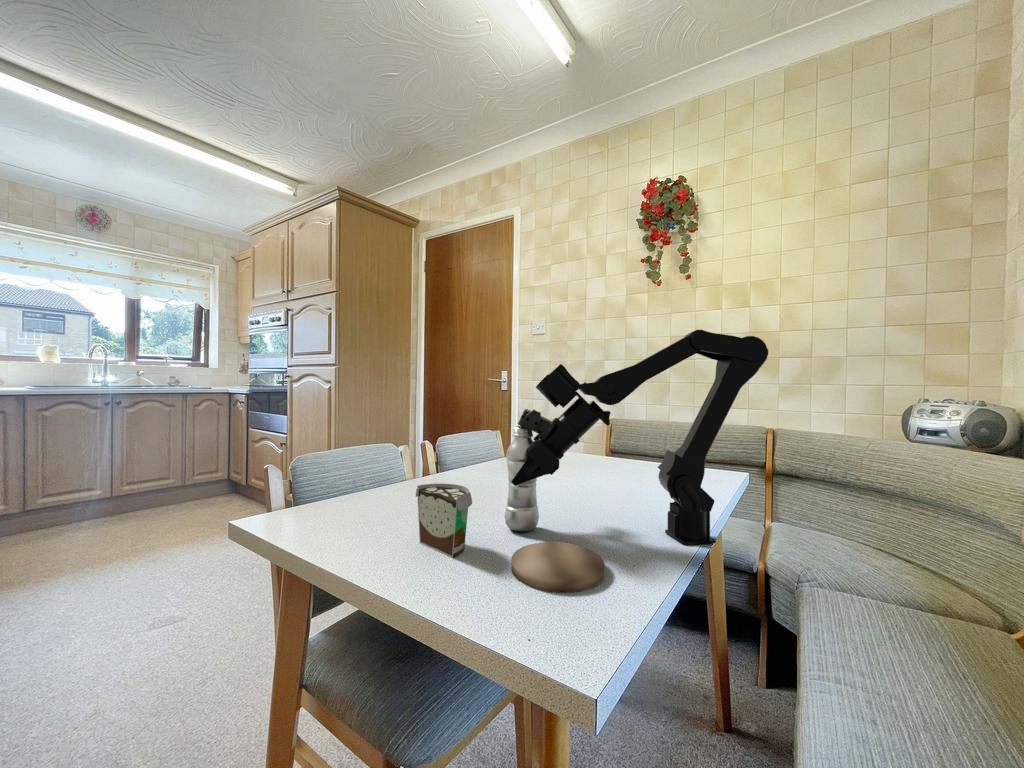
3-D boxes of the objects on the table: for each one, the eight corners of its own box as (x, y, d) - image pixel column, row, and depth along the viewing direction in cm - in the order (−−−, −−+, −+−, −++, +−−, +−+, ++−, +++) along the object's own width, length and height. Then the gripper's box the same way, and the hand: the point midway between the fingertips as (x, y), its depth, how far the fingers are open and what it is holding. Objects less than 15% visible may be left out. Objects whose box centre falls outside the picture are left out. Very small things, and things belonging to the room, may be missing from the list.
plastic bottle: (503, 524, 81) (504, 425, 82) (536, 523, 82) (537, 425, 82) (505, 535, 75) (506, 428, 75) (541, 535, 75) (542, 428, 76)
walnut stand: (585, 548, 69) (585, 540, 69) (620, 588, 55) (620, 577, 55) (504, 553, 67) (505, 544, 67) (520, 596, 53) (520, 584, 53)
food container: (486, 550, 68) (487, 491, 68) (458, 561, 64) (459, 497, 64) (442, 532, 76) (443, 479, 77) (414, 540, 72) (415, 484, 72)
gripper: (545, 394, 87) (495, 444, 89) (540, 395, 69) (476, 457, 70) (581, 431, 86) (530, 481, 88) (586, 442, 68) (520, 505, 69)
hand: (515, 480), depth 79 cm, fingers closed on plastic bottle, 6 cm apart
